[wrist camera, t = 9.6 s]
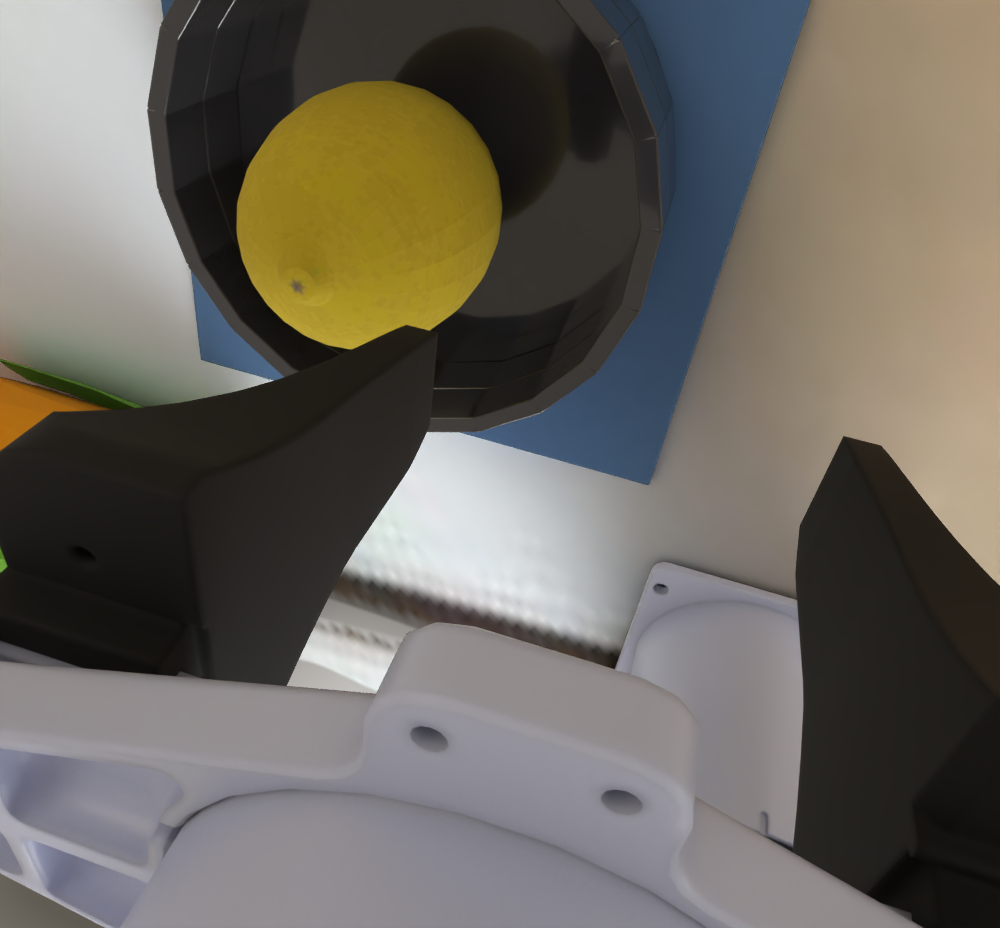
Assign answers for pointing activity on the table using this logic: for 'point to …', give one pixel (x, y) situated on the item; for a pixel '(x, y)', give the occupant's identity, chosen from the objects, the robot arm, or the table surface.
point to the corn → (44, 403)
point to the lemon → (369, 213)
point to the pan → (503, 128)
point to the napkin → (684, 247)
